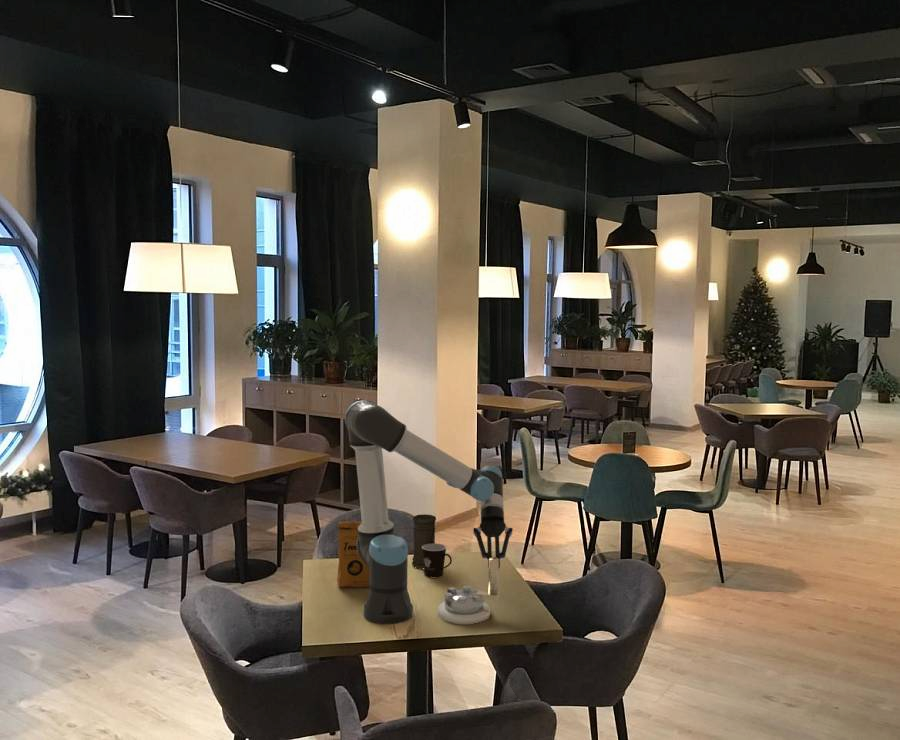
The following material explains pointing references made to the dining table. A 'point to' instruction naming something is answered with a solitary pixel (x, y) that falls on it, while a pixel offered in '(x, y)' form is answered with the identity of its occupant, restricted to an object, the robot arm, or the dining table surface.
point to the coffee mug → (434, 559)
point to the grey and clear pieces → (473, 594)
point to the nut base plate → (463, 618)
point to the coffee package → (350, 558)
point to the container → (422, 536)
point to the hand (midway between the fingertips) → (494, 577)
